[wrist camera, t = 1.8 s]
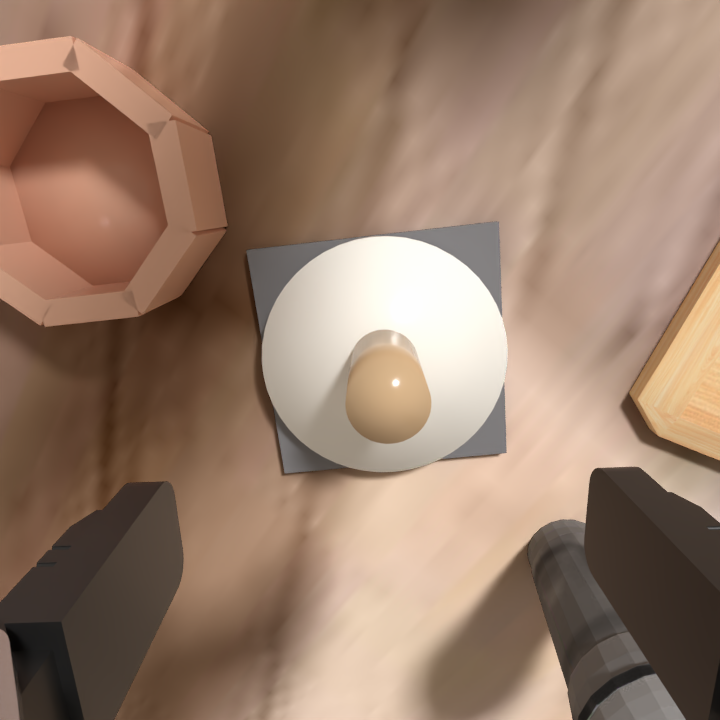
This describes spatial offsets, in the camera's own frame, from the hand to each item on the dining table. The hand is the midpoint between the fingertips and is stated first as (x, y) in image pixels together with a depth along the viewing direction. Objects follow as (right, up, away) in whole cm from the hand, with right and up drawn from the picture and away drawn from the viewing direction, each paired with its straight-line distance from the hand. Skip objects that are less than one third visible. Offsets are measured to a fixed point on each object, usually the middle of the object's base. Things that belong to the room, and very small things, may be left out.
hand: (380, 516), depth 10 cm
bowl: (-13, +11, +17) cm, 24 cm away
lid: (+1, +3, +18) cm, 19 cm away
